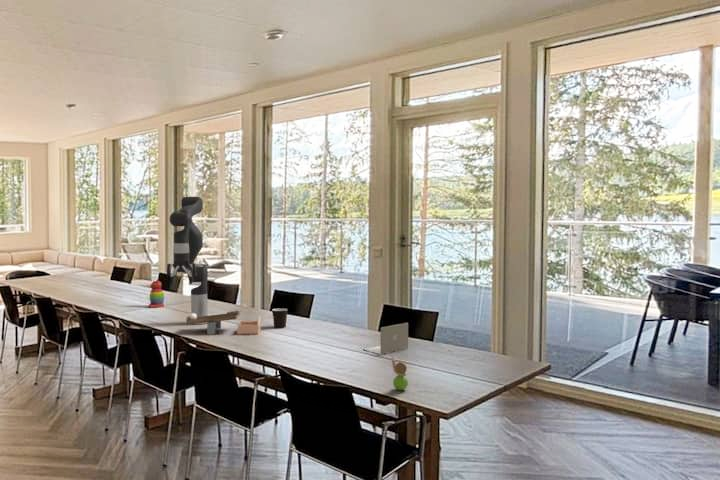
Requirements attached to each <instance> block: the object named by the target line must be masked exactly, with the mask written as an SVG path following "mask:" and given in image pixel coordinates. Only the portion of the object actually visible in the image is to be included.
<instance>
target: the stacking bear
mask: <svg viewBox="0 0 720 480" xmlns="http://www.w3.org/2000/svg"><path fill="white" fill-rule="evenodd" d="M149 287H150V288H151V289H150V292H149V293H150V294H149V302H150V303H149V304H148V309H157V308H163V307H165V303H164V302H165V293H164V291H163V289H162V282H161V281H160V280H158V279H157V280H153V282H152V283H151V284H150V285H149Z"/></svg>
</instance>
